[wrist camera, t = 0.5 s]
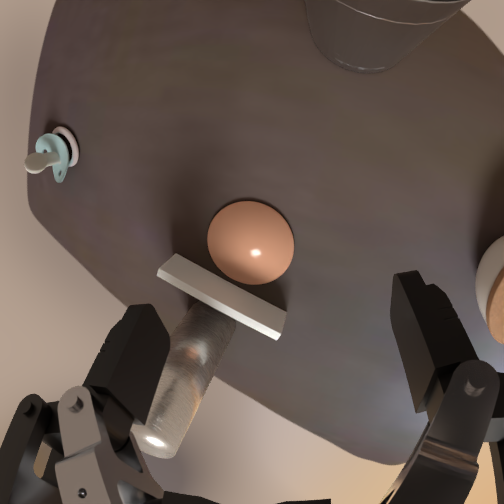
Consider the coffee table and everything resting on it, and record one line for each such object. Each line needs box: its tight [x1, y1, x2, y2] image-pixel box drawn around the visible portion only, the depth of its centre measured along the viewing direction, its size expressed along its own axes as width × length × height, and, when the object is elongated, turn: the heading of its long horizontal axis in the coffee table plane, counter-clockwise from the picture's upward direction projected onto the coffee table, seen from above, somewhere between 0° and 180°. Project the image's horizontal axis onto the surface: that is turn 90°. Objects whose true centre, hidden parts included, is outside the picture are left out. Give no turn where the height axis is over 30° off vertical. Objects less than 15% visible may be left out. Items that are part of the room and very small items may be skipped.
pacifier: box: [24, 127, 79, 183], centre depth 29 cm, size 7×6×6 cm
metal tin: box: [131, 301, 236, 458], centre depth 28 cm, size 6×6×18 cm
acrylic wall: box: [157, 253, 287, 340], centre depth 32 cm, size 14×1×4 cm, turn 65°
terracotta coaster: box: [207, 201, 294, 285], centre depth 31 cm, size 9×9×1 cm
